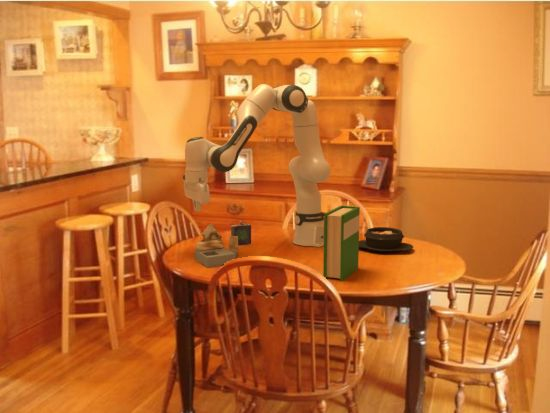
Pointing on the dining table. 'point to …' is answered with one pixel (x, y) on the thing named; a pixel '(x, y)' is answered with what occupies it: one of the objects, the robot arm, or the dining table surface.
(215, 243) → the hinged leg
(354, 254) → the hardback book
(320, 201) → the robot arm
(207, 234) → the ceramic model
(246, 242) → the flask
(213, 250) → the grey recessed block
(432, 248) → the dining table surface
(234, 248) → the loose leg
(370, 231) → the casserole
